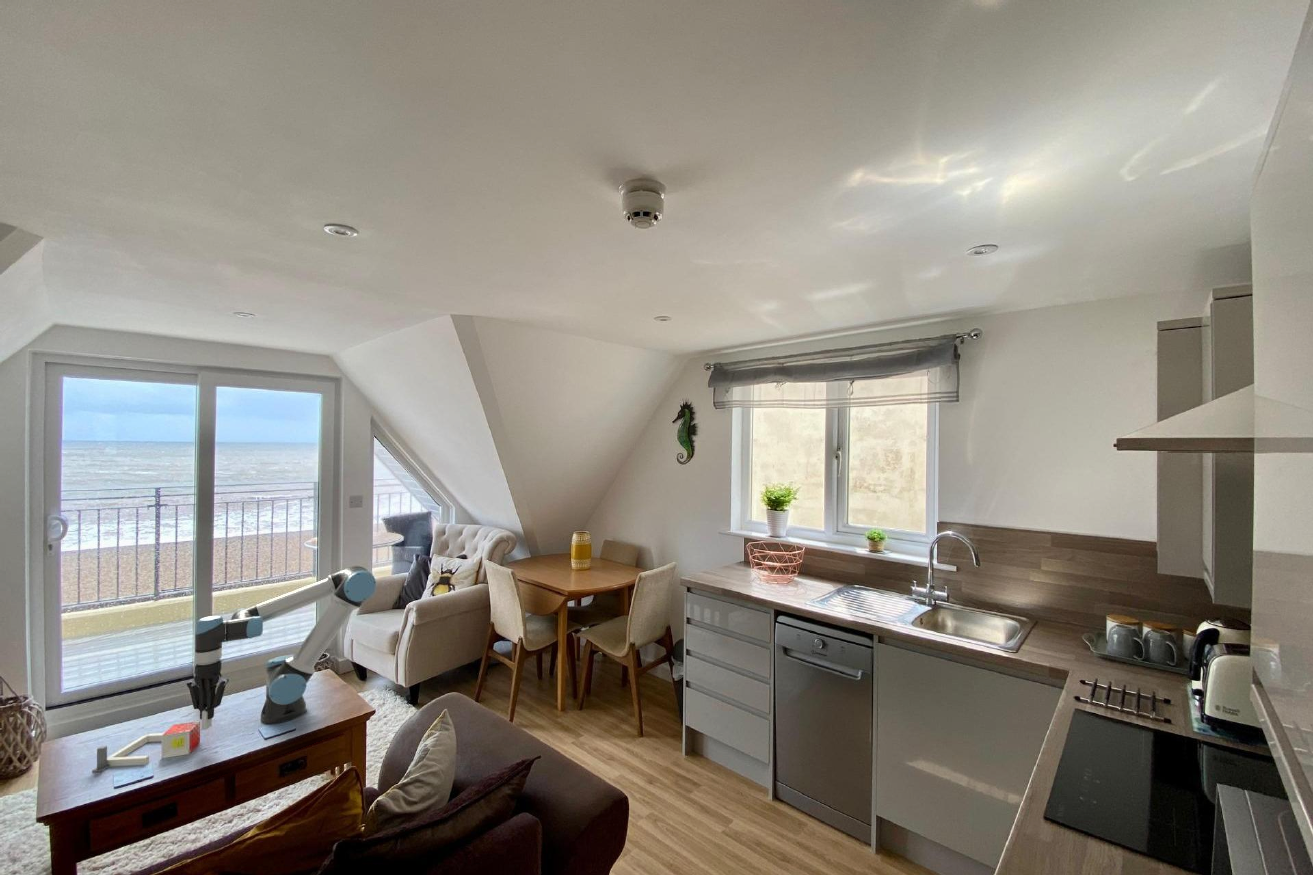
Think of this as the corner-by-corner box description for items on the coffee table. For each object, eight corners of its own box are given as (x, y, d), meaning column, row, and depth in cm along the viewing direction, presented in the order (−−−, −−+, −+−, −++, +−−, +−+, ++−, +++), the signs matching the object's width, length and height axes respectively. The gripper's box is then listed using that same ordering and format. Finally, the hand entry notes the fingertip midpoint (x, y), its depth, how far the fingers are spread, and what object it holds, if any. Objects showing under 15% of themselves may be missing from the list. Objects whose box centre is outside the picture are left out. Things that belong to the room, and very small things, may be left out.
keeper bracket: (184, 737, 202) (184, 718, 203) (137, 769, 183) (138, 748, 183) (143, 739, 201) (144, 720, 202) (92, 771, 181) (92, 750, 182)
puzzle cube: (161, 758, 189) (161, 735, 189) (173, 746, 197) (173, 724, 197) (189, 753, 192) (189, 731, 192) (200, 742, 199) (200, 720, 200)
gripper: (234, 656, 200) (233, 721, 199) (197, 657, 199) (195, 723, 198) (220, 664, 192) (218, 732, 192) (180, 665, 191) (178, 733, 191)
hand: (206, 727), depth 195 cm, fingers closed
